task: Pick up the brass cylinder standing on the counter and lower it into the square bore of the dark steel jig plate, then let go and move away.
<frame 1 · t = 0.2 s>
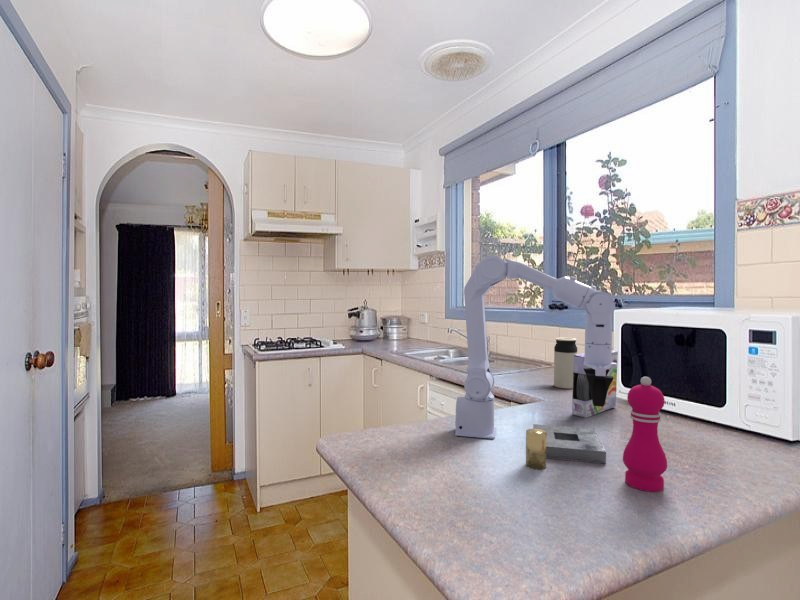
hand: (597, 402, 105), 10 cm above the countertop, tool pointing down, fingers open, 7 cm apart
brass cylinder: (535, 465, 93), on the countertop
travel mug: (565, 387, 169), on the countertop
jig: (566, 447, 103), on the countertop
cake pan box: (594, 412, 134), on the countertop
pepper mill: (644, 485, 84), on the countertop
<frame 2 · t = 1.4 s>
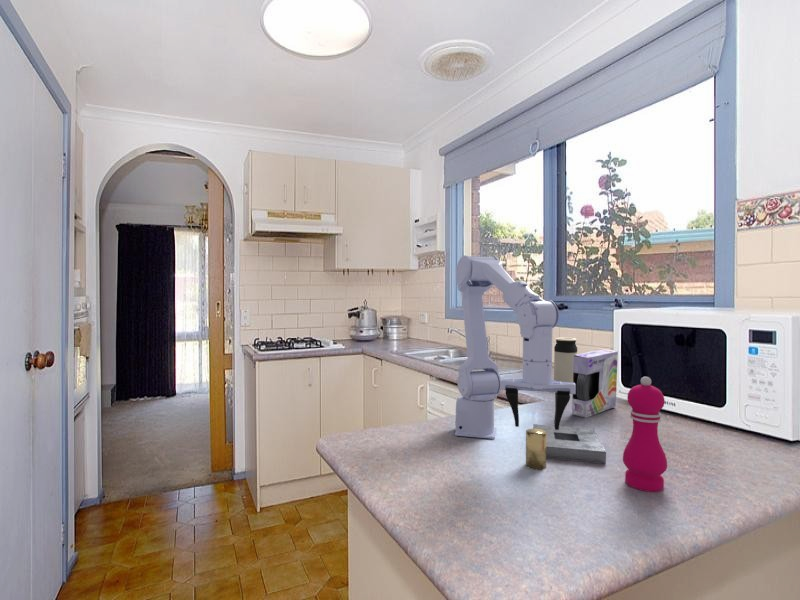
hand: (536, 426, 92), 8 cm above the countertop, tool pointing down, fingers open, 7 cm apart
nothing on the countertop moved.
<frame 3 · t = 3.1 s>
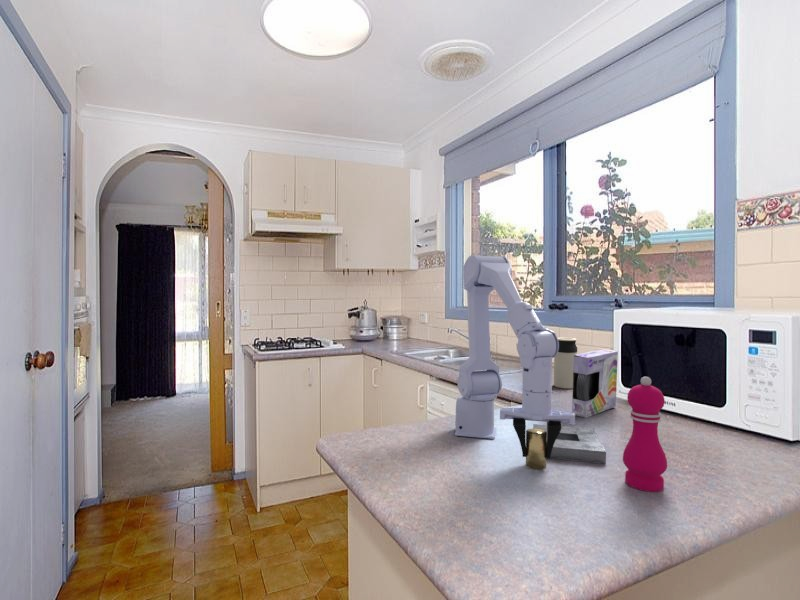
hand: (536, 456, 93), 2 cm above the countertop, tool pointing down, fingers closed on brass cylinder, 4 cm apart
brass cylinder: (536, 465, 93), on the countertop, touching gripper
everything else where it was.
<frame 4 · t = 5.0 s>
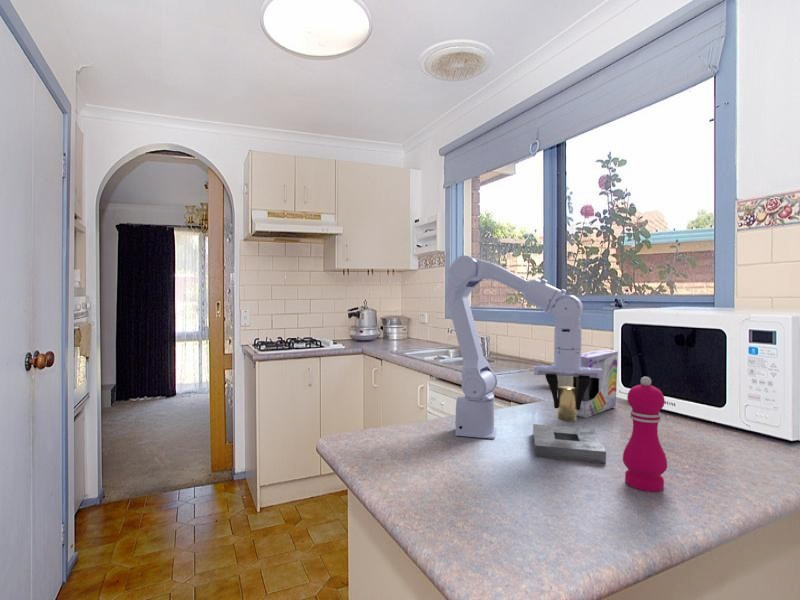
hand: (566, 408, 103), 9 cm above the countertop, tool pointing down, fingers closed on brass cylinder, 4 cm apart
brass cylinder: (566, 418, 103), point 7 cm above the countertop, touching gripper
everything else where it was.
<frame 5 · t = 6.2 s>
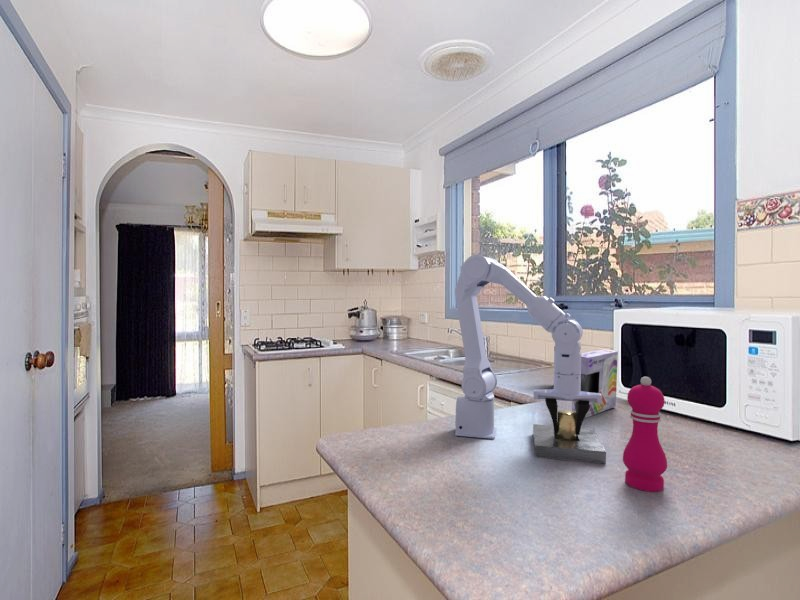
hand: (566, 432, 103), 3 cm above the countertop, tool pointing down, fingers closed on brass cylinder, 4 cm apart
brass cylinder: (566, 443, 103), point 1 cm above the countertop, touching gripper
everything else where it was.
when the fingers open (3 cm above the countertop, at t = 7.0 s): brass cylinder drops 1 cm, resting in jig.
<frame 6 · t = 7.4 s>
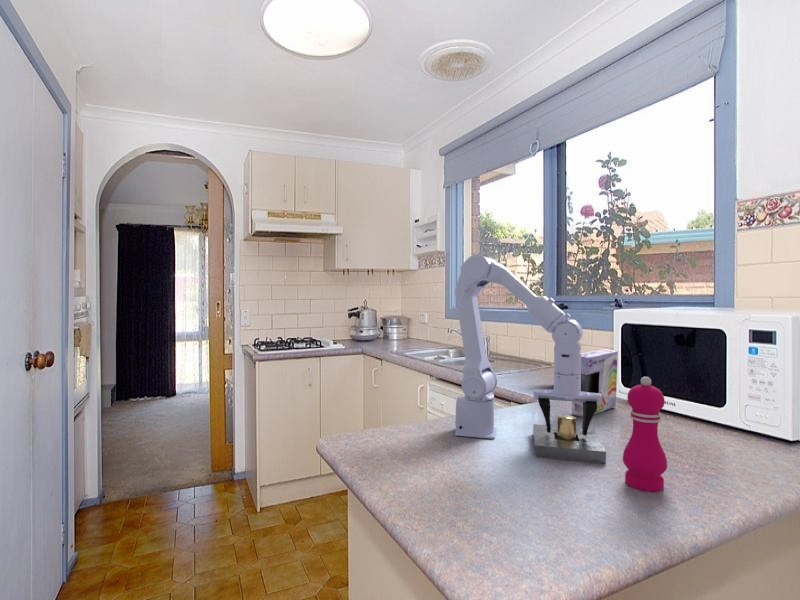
hand: (566, 432, 103), 3 cm above the countertop, tool pointing down, fingers open, 7 cm apart
brass cylinder: (566, 448, 103), resting in jig
everything else where it was.
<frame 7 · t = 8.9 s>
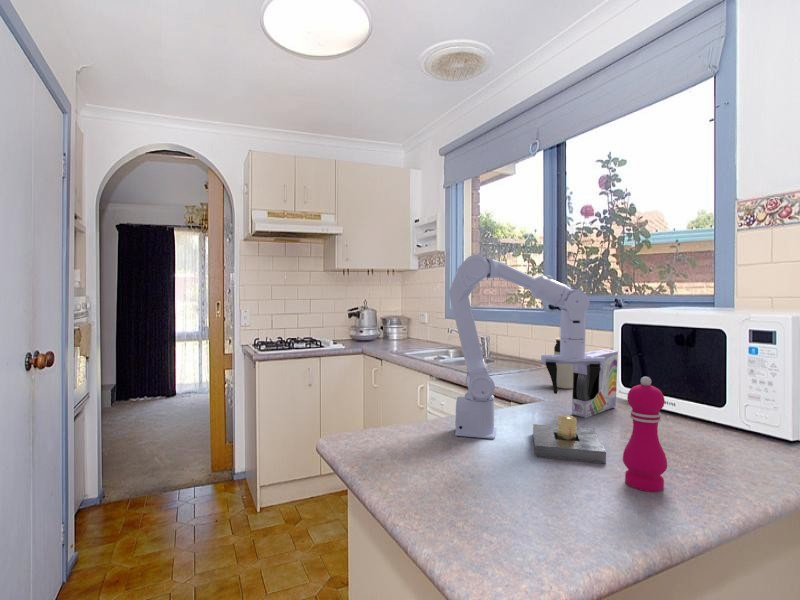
hand: (571, 393, 111), 10 cm above the countertop, tool pointing down, fingers open, 7 cm apart
nothing on the countertop moved.
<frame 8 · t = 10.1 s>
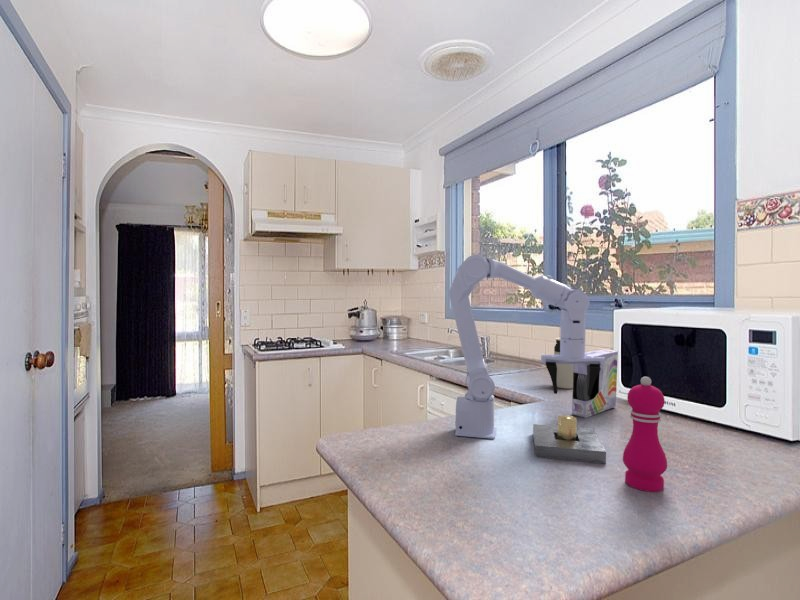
hand: (571, 393, 111), 10 cm above the countertop, tool pointing down, fingers open, 7 cm apart
nothing on the countertop moved.
at the end: brass cylinder 0.5 cm off-centre on the jig, point 0.0 cm above the jig's base; brass cylinder tilted 1°; the gripper is holding nothing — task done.
